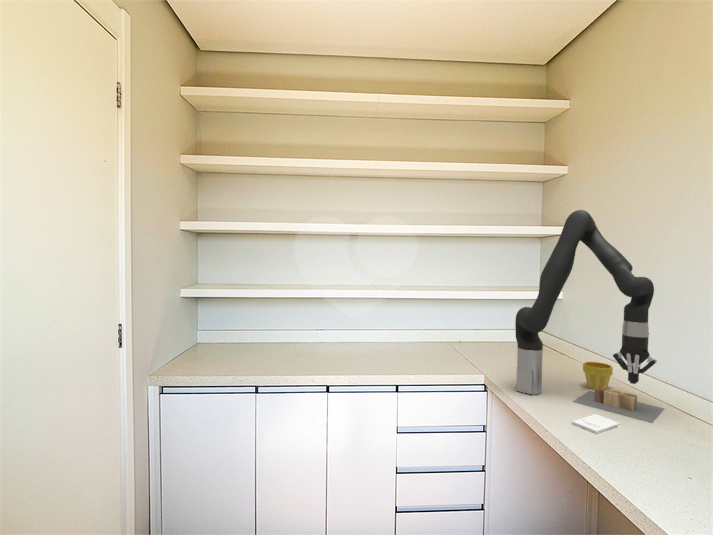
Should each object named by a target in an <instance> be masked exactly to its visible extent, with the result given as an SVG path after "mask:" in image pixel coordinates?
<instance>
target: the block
mask: <svg viewBox="0 0 713 535" xmlns="http://www.w3.org/2000/svg"><path fill="white" fill-rule="evenodd" d="M594 392H595V398H594V401H595V402H599V403H603V404H607V405H611V406H615V407H619V408H623V409H626V410H630V411H634V410H635V409H636V408H637V402H638V395H637V394H633V393H628V392H625V391H620V390H617V389H611V388H608V387H607V388H603V387H597V388H596V389H594Z"/></svg>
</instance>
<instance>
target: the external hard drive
mask: <svg viewBox="0 0 713 535" xmlns="http://www.w3.org/2000/svg"><path fill="white" fill-rule="evenodd" d="M571 425H572V426H576V427H578V428H581V429H583V430H585V431H587V432H591V433H592V434H595V435H597V434H601V433H604V432H607V431H610V430H612V429H615V428H619V425H621V423H620V422H618V421H617V420H613V419H611V418H608V417H605V416H602V415H599V414H594V413H593V414H590V415H589V416H585V417H582V418H579V419H576V420H575V419H574V420H572V421H571Z"/></svg>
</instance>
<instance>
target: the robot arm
mask: <svg viewBox="0 0 713 535" xmlns="http://www.w3.org/2000/svg"><path fill="white" fill-rule="evenodd" d="M564 222H565V223H564V225H563V227H562V230H561V232H560V235H559V237H558V240H557V242H556V244H555V246H554V248H553V249H552V251H551V254H550V256H549V258H548V260H547V262H546V263H545V266H544V268H543V269H542V271H541V274H540V277H539V287H538V295H537V297H536V299H535V301H534V302H533V304H532V306H531V307H530V306H523V307H521V308H520V309H518V311H517V312H516V315H515V323H514V324H515V326H514V327H515V328H514V329H515V339H516V342H517V346H516V347H517V348H516V349H517V350H516V351H517V352H516V353H517V356H516V378H515V379H516V381H515V382H516V386H515V390H516V392H518V391H519V392H518V393H522V392H523V394H525V393H527V394H526V395H529V394H531V395H530V396H533V395H540V394H542V393H541V392H542V390H543V388H542V387H543V355H544V354H543V351H544V344H543V341H542V340H541V338H540V335H539V333H541V332H543V330H545V328H546V327H547V325H548V322H549V321H550V318H551V315H552V312H553V310H554V306H555V304H556V302H557V300H558V298H559V297H560V294H561V292H562V289H563V288H564V286H565V284H566V282H567V280H568V279H569V277H570V275H571V272H572V270H573V267H574V262H575V258H576V257H575V256H576V252H577V248H578V245H579V244H580V242H582V243H583V244H584V245H585V246H586V247H587V248H588V249H589V250H590V251H591V252H592V253H593V254H594V256H595V257H596V258H597V259H598V261H599V262H600V263H601V265H602V266H603V268H605V269H606V270H607V272H608V273H609V274H610V275H611V277H612V278H613V281H614V283H615V285H616V287H617V289H618V290H619V291H620V292H621V293H622V294H623V295H624V296H625V297H628V298H630V302H629V303H627V304H626V305H624V307H623V320H622V321H623V323H622V326H621V327H622V328H621V329H622V331H621V348H620V349H619V351H618V352H616V353H613V355H612V357H613V358H614V360H615V361H616V362H617V363H618V364H619V366H620V367H621V369H622V370H624V371H626V372H627V376H628V377H627V381H628V382H629V384H633V385H636V384H637V383H638V382H639V381H640V380H639V379H640V374H644V373H645V372H647V371H648V370H650V368H652V367H653V366H654V365H655V364H657V359H654V358H653V357H652V356H650V353H649V335H650V332H649V331H650V328H649V310H650V307H651V304H652V301H653V297H654V294H655V286H654V283H653V281H652V279H650V278H648V277H647V276H635V275H634V274H633V273H632V272H633V265H632V263H631V262H630V261H629V260H628V259H627V258H626V257H625V256H624V255H623V254H622V253H621V251H619V250H618V249H617V248H616V247H615V246H613V245H612V244H611V243H610V242H609V241H607V239H606V238H605V237H604V236H603V235H602V233H601V231H600V230H599V229H598V226H597V225H596V221H595V220H594V218H593V217H592V215H591V214H590V213H589V212H588V211H586V210H584V209H578V210H575V211H572V212H571V213H570V214H569V215H568V217H567V218H566V219H565V221H564ZM625 361H626V362H625ZM645 361H646V364H645V365H644V367H642V368H641V365H642V364H643V363H644V362H645ZM532 394H533V395H532Z"/></svg>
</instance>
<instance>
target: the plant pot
mask: <svg viewBox="0 0 713 535" xmlns="http://www.w3.org/2000/svg"><path fill="white" fill-rule="evenodd" d="M613 368H614V367H613V366H612V365H611V364H608V363H604V362H600V361H585V362H583V363H582V371H583V373H584V375H585V378H586V385H587V388H589V389H593V390H595V389H596V388H597V387H603V388H608V386H609V382H610V380H611V376H613V372H614V371H613V370H614V369H613Z"/></svg>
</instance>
